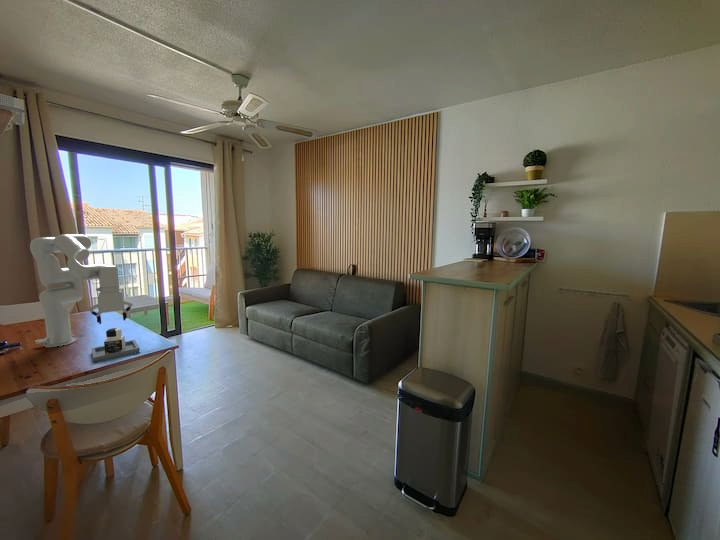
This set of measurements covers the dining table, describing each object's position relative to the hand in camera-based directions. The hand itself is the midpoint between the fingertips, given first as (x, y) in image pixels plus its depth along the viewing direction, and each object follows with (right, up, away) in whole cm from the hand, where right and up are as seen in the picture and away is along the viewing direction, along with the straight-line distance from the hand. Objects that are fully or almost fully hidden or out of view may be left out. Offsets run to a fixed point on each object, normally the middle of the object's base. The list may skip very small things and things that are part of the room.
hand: (112, 321), depth 150 cm
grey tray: (0, -17, +2) cm, 17 cm away
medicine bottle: (0, -16, +2) cm, 16 cm away
